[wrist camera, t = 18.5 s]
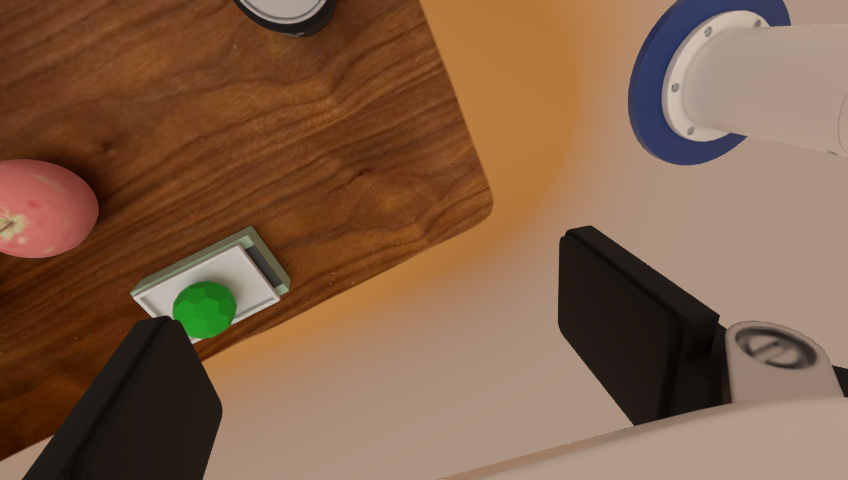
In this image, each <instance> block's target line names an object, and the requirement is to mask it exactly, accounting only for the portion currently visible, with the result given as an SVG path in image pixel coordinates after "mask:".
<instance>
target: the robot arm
mask: <svg viewBox="0 0 848 480" xmlns="http://www.w3.org/2000/svg"><path fill="white" fill-rule="evenodd" d="M661 103H662V109H663V114H664V117H665V119H666V122H667V124H668V125H669V127H670V128H671V129H672V130H673V131H674V132H675V133H676V134H677V135H679V136H681V137H683V138H685V139H689V140H693V141H702V142H706V141H711V140H715V139H718V138H721V137H723V136H725V135H727V134H729V133H735V134H740V135H744V136H749V137H754V138H759V139H764V140H768V141H773V142H778V143H783V144H788V145H793V146H797V147H802V148H807V149H812V150H817V151H822V152H826V153H831V154H836V155H840V156H845V157H848V23H837V24H816V25H797V26H775V27H770V26H769V24H768V23H767V22H766V21H765V20H764V18H762V17H761V16H759V15H758V14H756V13H753V12H750V11H729V12H723V13H720V14H717V15H714V16H712V17H710V18H709V19H707V20H705V21H704V22H702V23H701V24H699V25H698V26H697V27H696V28H695V29H693V30H692V31H691V32H690V33H689V34H688V36H687V37H686V38H685V39H684V40H683V41H682V43H681V44H680V46H679V47H678V49H677V50H676V52H675V53H674V55H673V57H672V59H671V61H670V63H669V65H668V68H667V71H666V74H665V77H664V81H663V86H662V99H661ZM719 317H720V315H719V314H717V313H716V312H715V311H713V310H712V309H710V308H709V307H707V306H706V305H704V304H703V303H702V302H700V301H699V300H697V299H696V298H694V297H693V296H692V295H690V294H688V293H687V292H686V291H684V290H683V289H682V288H680V287H678V286H677V285H676V284H674V283H673V282H672V281H670V280H669V279H667V278H666V277H664V276H663V275H662V274H660V273H659V272H657V271H656V270H654V269H652V268H651V267H650V266H649V265H647V264H646V263H644V262H643V261H641V260H640V259H639V258H637V257H636V256H634V255H633V254H631V253H630V252H628V251H627V250H626V249H624V248H623V247H621V246H620V245H619V244H617V243H616V242H614V241H613V240H611V239H610V238H608V237H607V236H606V235H604V234H603V233H601V232H600V231H598V230H597V229H596V228H594V227H593V226H590V225H589V226H584V227H579V228H574V229H570V230H567V231H566V234H565V236H564V237H561V239H560V243H559V290H558V325H559V328H560V331H561V333H562V334H563V336H564V337H565V339H566V340H567V341H568V342H569V344H570V345H571V346H572V347H573V349H574V350H575V351H576V353H577V354H578V355H579V356H580V358H581V359H582V360H583V361H584V363H585V364H586V365H587V366H588V368H589V369H590V370H591V371H592V373H593V374H594V375H595V377H596V378H597V379H598V380H599V382H600V383H601V384H602V386H603V387H604V388H605V389H606V391H607V392H608V393H609V394H610V396H611V397H612V398H613V399H614V400H615V402H616V403H617V405H618V406H619V407H620V408H621V410H622V411H623V412H624V413H625V414H626V416H627V417H628V418H629V420H630V421H631V422H632V424H633V425H634V426H633V427H629V428H625V429H621V430H618V431H614V432H610V433H607V434H603V435H600V436H595V437H592V438H588V439H585V440H581V441H577V442H573V443H570V444H566V445H562V446H558V447H555V448H551V449H548V450H544V451H540V452H536V453H533V454H529V455H525V456H521V457H518V458H514V459H511V460H507V461H503V462H499V463H496V464H492V465H488V466H485V467H481V468H477V469H474V470H471V471H467V472H463V473H460V474H456V475H452V476H449V477H445V478H441V479H438V480H848V369H845V368H842V367H837V366H833V365H831V362H830V360H829V357H828V355H827V354H826V352H825V351H824V350H823V348H822V347H821V346H820V345H819V344H817V343H816V342H815V341H814V340H812V339H811V338H809V337H807V336H805V335H804V334H802V333H800V332H798V331H796V330H793V329H790V328H788V327H785V326H782V325H778V324H774V323H769V322H761V321H743V322H739V323H736V324H733V325H731V326H730V327H729V328H728V329H726V328H725V327H723V326H722V325H720V324H719V323H718V321H719ZM221 418H222V405H221V401H220V399H219V397H218V395H217V393H216V391H215V389H214V387H213V385H212V383H211V381H210V379H209V377H208V375H207V373H206V371H205V369H204V367H203V365H202V363H201V361H200V359H199V357H198V355H197V353H196V351H195V349H194V347H193V345H192V343H191V341H190V339H189V337H188V335H187V333H186V331H185V329H184V327H183V325H182V323H181V322H180V321H179V320H177V319H175V320H173V319H172V318H171V317H170V316H167V315H164V316H159V317H155V318H150V319H145V320H141V321H138V322H137V323H136V324H135V325H134V326H133V328H132V329H131V330H130V332H129V333H128V334H127V336H126V337H125V339H124V340H123V341H122V343H121V344H120V345H119V347H118V348H117V350H116V351H115V352H114V354H113V355H112V356H111V358H110V359H109V361H108V362H107V363H106V365H105V366H104V367H103V369H102V370H101V372H100V373H99V374H98V376H97V377H96V378H95V380H94V381H93V383H92V384H91V385H90V387H89V388H88V389H87V391H86V392H85V394H84V395H83V396H82V398H81V399H80V400H79V402H78V403H77V405H76V406H75V407H74V409H73V410H72V411H71V413H70V414H69V415H68V417H67V418H66V420H65V421H64V422H63V424H62V425H61V426H60V428H59V429H58V431H57V432H56V433H55V435H54V436H53V437H52V439H51V440H50V442H49V443H48V444H47V446H46V447H45V448H44V450H43V451H42V453H41V454H40V455H39V457H38V458H37V459H36V461H35V462H34V464H33V465H32V466H31V468H30V469H29V471H28V472H27V473H26V475H25V476H24V478H23V479H22V480H203V476H204V473H205V470H206V467H207V463H208V460H209V457H210V454H211V450H212V447H213V444H214V441H215V437H216V434H217V431H218V428H219V425H220V421H221Z"/></svg>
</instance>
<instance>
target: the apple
mask: <svg viewBox="0 0 848 480" xmlns="http://www.w3.org/2000/svg"><path fill="white" fill-rule="evenodd" d="M98 214H99V209H98V201H97V199H96V196H95V194H94V192H93V191H92V189H91V188H90V186H89V185H88V184H87V183H86V182H85V181H84V180H83V179H82V178H80V177H79V176H78V175H76V174H75V173H73V172H72V171H70V170H68V169H65V168H63V167H61V166H59V165H55V164H52V163H49V162H45V161H39V160H30V159H15V160H3V161H0V252H3V253H6V254H9V255H13V256H18V257H23V258H43V257H49V256H55V255H58V254H61V253H63V252H66V251H68V250H71V249H73V248H75V247H77V246H78V245H79V244H80V243H81V242H82V241H83V240H84V239H85V238H86V237H87V236H88V235H89V233H90V232H91V230H92V228H93V227H94V225H95V223H96V220H97V217H98Z"/></svg>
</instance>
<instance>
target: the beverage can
mask: <svg viewBox="0 0 848 480" xmlns="http://www.w3.org/2000/svg"><path fill="white" fill-rule="evenodd" d="M233 1H234V2H235V4H236V5H237V6H238V7H239V8H240V10H241V11H242V12H243V13H244V14H245V15H247V16H248V17H249V18H250V19H251V20H253V21H254V22H256V23H257V24H259V25H261V26H263V27H265V28H267V29H269V30H272V31H275V32H278V33H281V34H284V35H287V36H292V37H306V36H310V35H313V34H315V33H317V32H319V31H320V30H321V29H323V28H324V27H325V26H326V25H327V23H328V22H329V21H330V19H331V17H332V15H333V13H334V10H335V6H336V1H337V0H233Z"/></svg>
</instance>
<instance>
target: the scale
mask: <svg viewBox="0 0 848 480" xmlns="http://www.w3.org/2000/svg"><path fill="white" fill-rule="evenodd" d="M290 280H291V279H290V278H289V276H288V275H287V274H286V272H285V271H284V269H283V268H282V267H281V265H280V264H279V263H278V261H277V260H276V258H275V257H274V256H273V254H272V253H271V251H270V250H269V249H268V247H267V246H266V245H265V243H264V242H263V240H262V239H261V238H260V236H259V235H258V234H257V232H256V231H255V229H254V228H253V227H252V226H249V227H247V228H245V229H243V230H241V231H239V232H237V233H235V234H233V235H231V236H229V237H227V238H225V239H223V240H221V241H219V242H217V243H215V244H213V245H211V246H209V247H207V248H205V249H203V250H201V251H199V252H197V253H195V254H193V255H190V256H188V257H186V258H184V259H182V260H180V261H178V262H176V263H174V264H172V265H170V266H168V267H166V268H164V269H162V270H160V271H158V272H156V273H154V274H152V275H150V276H148V277H146V278H144V279H142V280H140V281H139V283H138V284H137V285H136V286H135V288H134V289H133V290H132V291H131V293H130V294H131V295H132V296H133V298H134V299H135V300H136V301H137V302H138V303H139V304H140V305H141V306H142V307H143V308H144V309H145V310H146V311H147V312H148V313H149V314H150V315H151V316H152V317H153V318H155V317H159V316H164V315H167V316H170V317H171V318H172V319H173V315H172V310H173V303H174V301H175V299H176V298H177V296H178V294H179V293H180V292H181V291H183V290H184V289H185V288H186V287H188V286H190V285H192V284H194V283H197V282H203V281H212V282H215V283H218V284H220V285H222V286H224V287H226V288H228V289H229V290H230V292H231V293H232V295H233V296H234V298H235V302H236V305H237V308H236V314H235V317H234V319H233V321H232V323H231V325H232V324H234V323H236V322H238V321H240V320H242V319H244V318H246V317H248V316H250V315H252V314H254V313H256V312H258V311H260V310H262V309H264V308H266V307H268V306H270V305H272V304H274V303H276V302H278V301H280V295H282V294H284V293H286V292H288V291H289V287H290ZM188 337H189V339H190V341H191V343H192V344H194V343H196V342H198V341H200V340H202V339H199V338H194V337H190V336H188ZM203 339H204V338H203Z"/></svg>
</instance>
